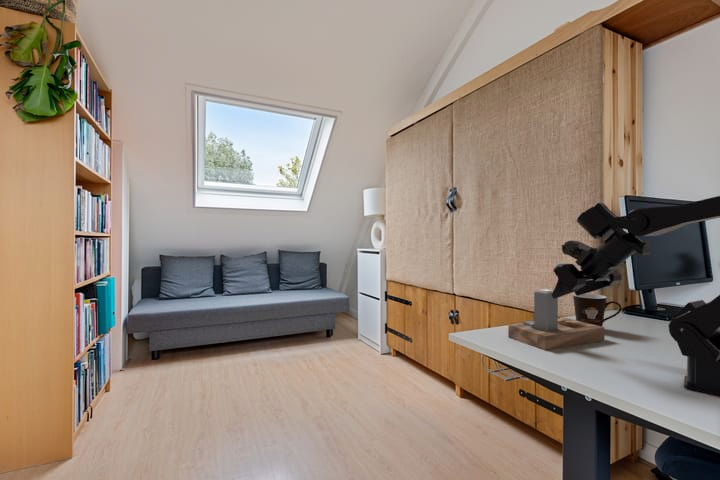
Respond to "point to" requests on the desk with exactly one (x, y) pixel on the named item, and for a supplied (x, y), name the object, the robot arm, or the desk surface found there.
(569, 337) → the socket board
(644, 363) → the desk surface
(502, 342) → the desk surface
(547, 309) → the plug
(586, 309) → the coffee mug
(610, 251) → the robot arm
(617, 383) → the desk surface
